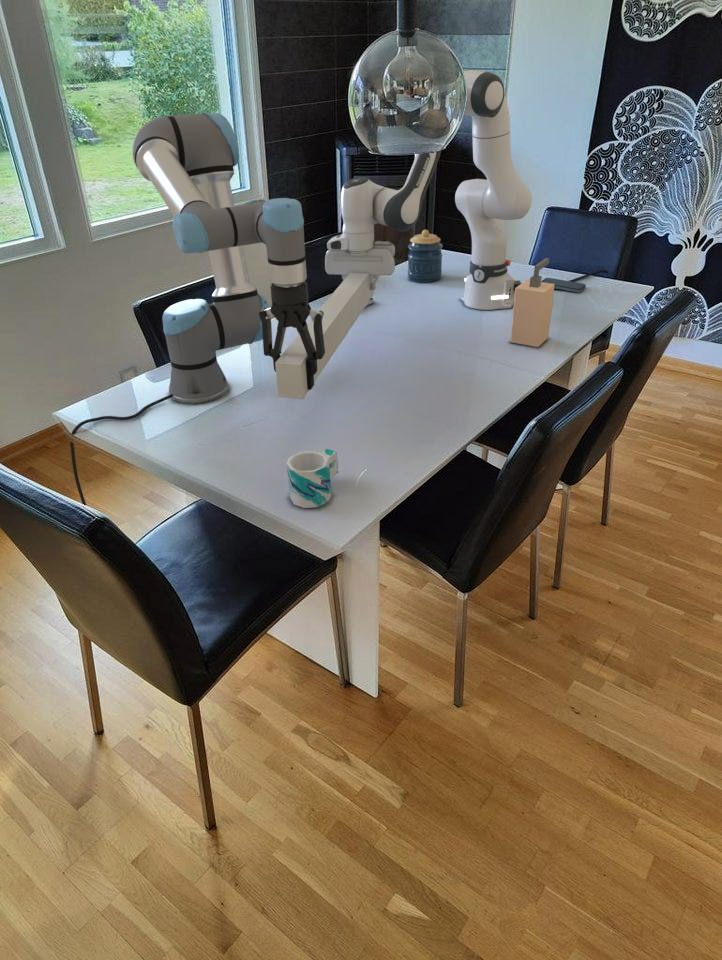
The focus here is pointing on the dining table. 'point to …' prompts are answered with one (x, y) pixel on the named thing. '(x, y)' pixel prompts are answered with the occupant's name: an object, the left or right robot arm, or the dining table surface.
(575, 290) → the smartphone
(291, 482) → the mug
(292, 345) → the bar
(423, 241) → the canister
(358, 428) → the dining table surface
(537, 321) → the soap dispenser
